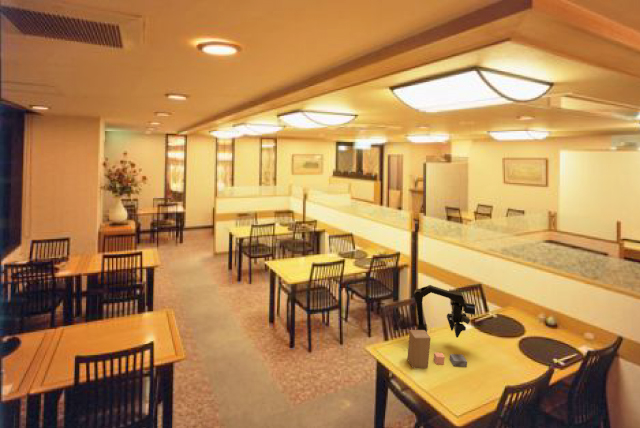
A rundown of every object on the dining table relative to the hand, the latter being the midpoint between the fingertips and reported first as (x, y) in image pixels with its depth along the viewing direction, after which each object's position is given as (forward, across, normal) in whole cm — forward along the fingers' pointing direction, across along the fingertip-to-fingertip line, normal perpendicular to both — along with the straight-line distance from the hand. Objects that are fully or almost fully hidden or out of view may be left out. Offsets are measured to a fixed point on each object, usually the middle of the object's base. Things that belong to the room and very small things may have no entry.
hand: (454, 333), depth 238 cm
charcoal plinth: (+13, -13, +1) cm, 19 cm away
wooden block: (+14, -15, +27) cm, 34 cm away
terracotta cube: (+13, -13, +13) cm, 22 cm away
